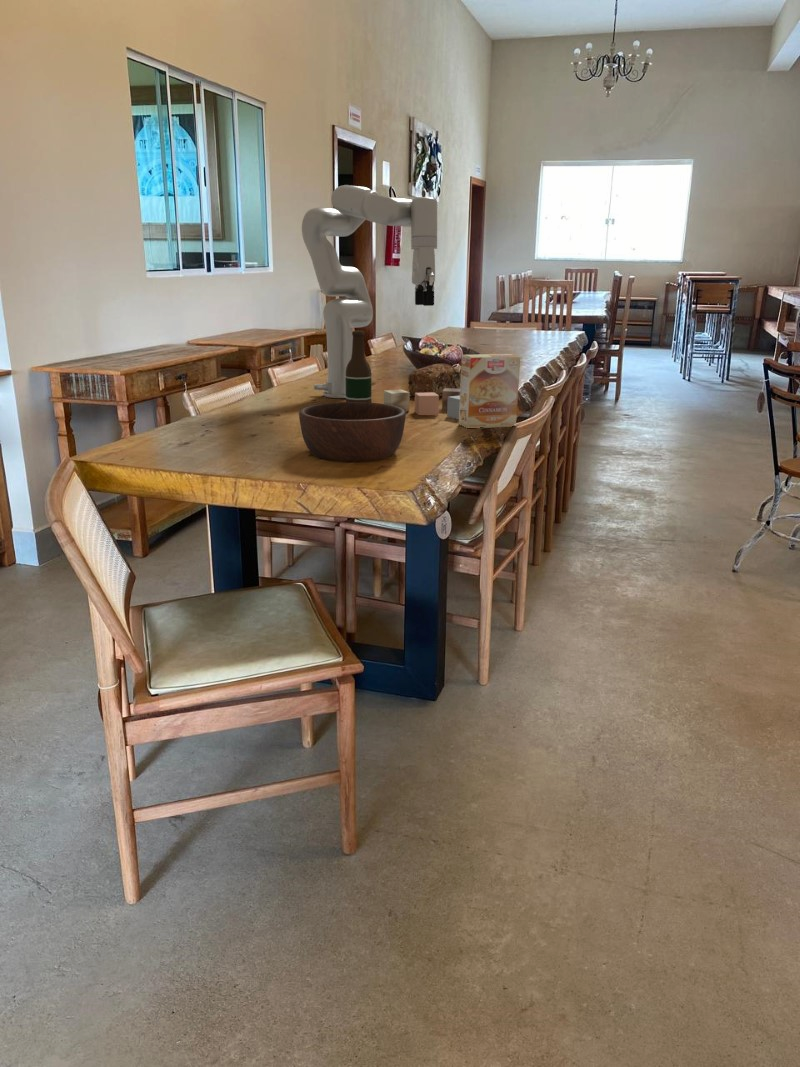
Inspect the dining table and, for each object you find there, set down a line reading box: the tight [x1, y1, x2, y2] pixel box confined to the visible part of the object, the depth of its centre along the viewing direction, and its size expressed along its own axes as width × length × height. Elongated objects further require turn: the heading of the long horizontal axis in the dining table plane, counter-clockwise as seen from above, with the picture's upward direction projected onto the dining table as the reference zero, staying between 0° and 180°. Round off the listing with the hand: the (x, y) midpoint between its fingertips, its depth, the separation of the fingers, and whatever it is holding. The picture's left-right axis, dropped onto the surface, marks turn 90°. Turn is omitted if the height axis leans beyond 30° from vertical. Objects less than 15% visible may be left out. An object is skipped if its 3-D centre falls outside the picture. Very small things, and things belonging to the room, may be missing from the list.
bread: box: [407, 363, 461, 398], centre depth 272 cm, size 19×11×10 cm, turn 146°
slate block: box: [446, 396, 460, 420], centre depth 233 cm, size 6×6×6 cm
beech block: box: [383, 389, 411, 413], centre depth 242 cm, size 6×6×6 cm
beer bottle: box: [345, 330, 372, 403], centre depth 235 cm, size 8×8×24 cm
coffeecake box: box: [458, 353, 521, 429], centre depth 219 cm, size 15×7×20 cm, turn 108°
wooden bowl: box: [298, 401, 407, 463], centre depth 187 cm, size 25×25×10 cm
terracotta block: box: [414, 392, 440, 416], centre depth 238 cm, size 6×6×6 cm
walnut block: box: [441, 388, 460, 411], centre depth 246 cm, size 6×6×6 cm
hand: (424, 305), depth 234 cm, fingers open, 9 cm apart
